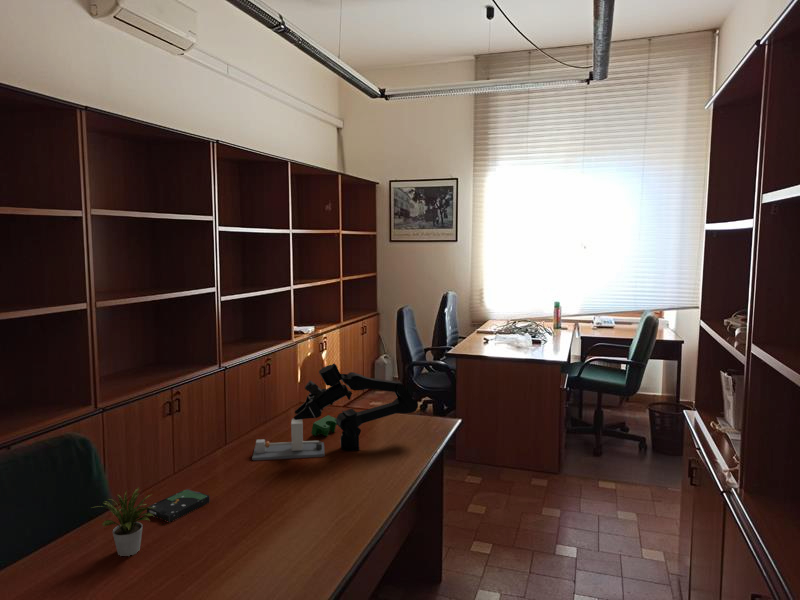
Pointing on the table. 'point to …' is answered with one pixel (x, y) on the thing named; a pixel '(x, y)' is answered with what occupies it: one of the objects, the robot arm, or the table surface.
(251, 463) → the table surface
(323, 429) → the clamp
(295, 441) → the stepped pale block
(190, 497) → the disk drive
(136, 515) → the house plant
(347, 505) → the table surface
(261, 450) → the flat grey panel
